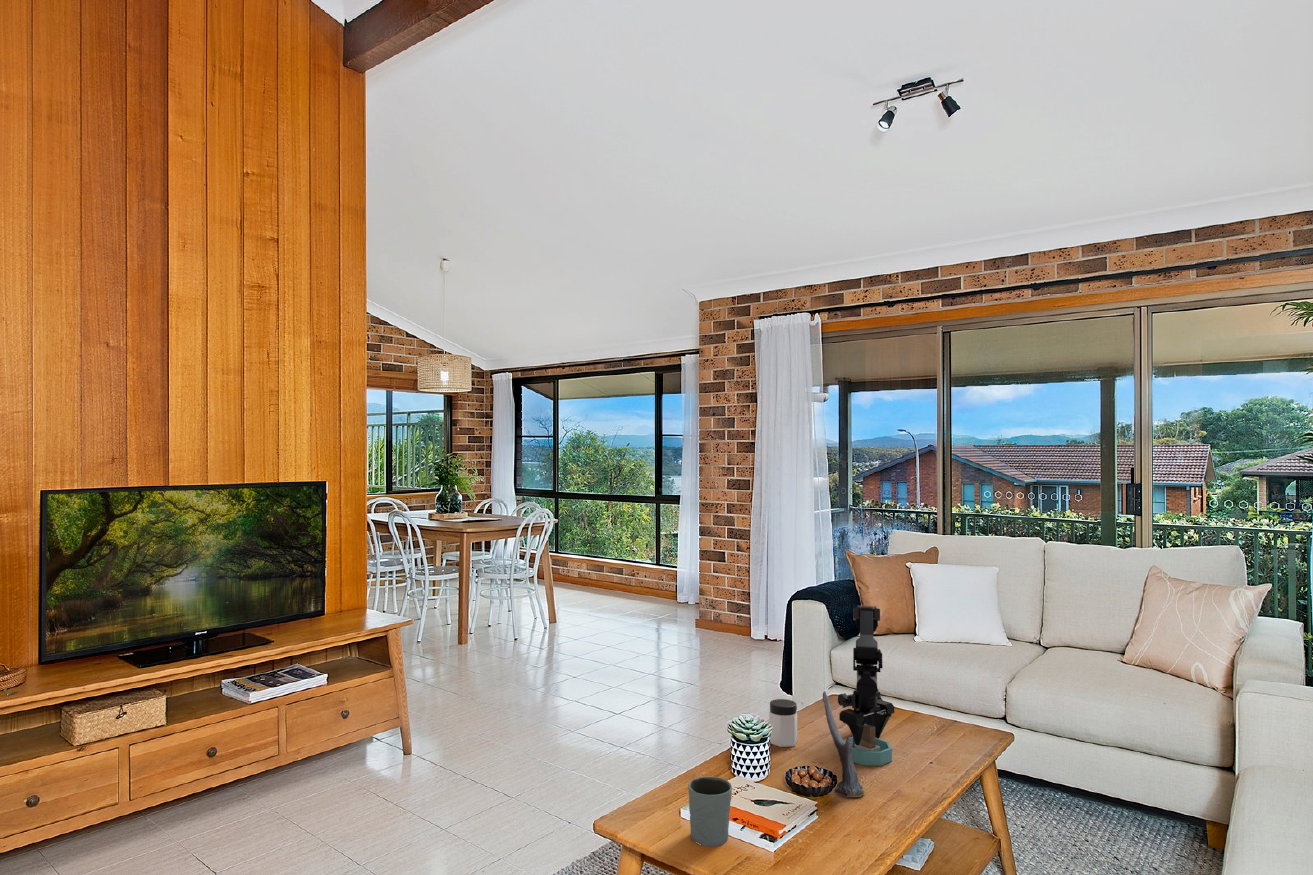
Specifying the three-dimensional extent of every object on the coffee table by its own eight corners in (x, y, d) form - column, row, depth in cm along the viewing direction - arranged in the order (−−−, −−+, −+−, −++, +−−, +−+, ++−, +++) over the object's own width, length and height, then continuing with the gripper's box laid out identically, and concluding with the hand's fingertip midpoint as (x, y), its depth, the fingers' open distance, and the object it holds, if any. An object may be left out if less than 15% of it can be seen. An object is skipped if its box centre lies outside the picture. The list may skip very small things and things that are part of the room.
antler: (869, 793, 204) (868, 696, 205) (854, 802, 198) (853, 703, 199) (829, 780, 212) (829, 687, 213) (814, 789, 206) (814, 693, 207)
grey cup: (705, 823, 187) (705, 772, 187) (741, 836, 181) (740, 783, 181) (679, 839, 179) (679, 786, 180) (715, 853, 173) (714, 798, 173)
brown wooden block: (865, 751, 231) (864, 723, 231) (875, 754, 228) (875, 727, 229) (860, 753, 230) (859, 725, 230) (870, 756, 227) (870, 728, 227)
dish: (863, 745, 238) (863, 733, 238) (900, 758, 228) (899, 745, 228) (835, 755, 230) (835, 742, 230) (871, 768, 220) (871, 755, 220)
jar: (803, 743, 240) (803, 703, 240) (785, 749, 235) (785, 709, 235) (781, 735, 247) (781, 697, 247) (763, 741, 242) (763, 702, 242)
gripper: (864, 676, 242) (864, 727, 241) (824, 687, 230) (824, 740, 230) (895, 684, 233) (895, 737, 232) (855, 696, 222) (855, 752, 221)
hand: (867, 741), depth 229 cm, fingers open, 9 cm apart
